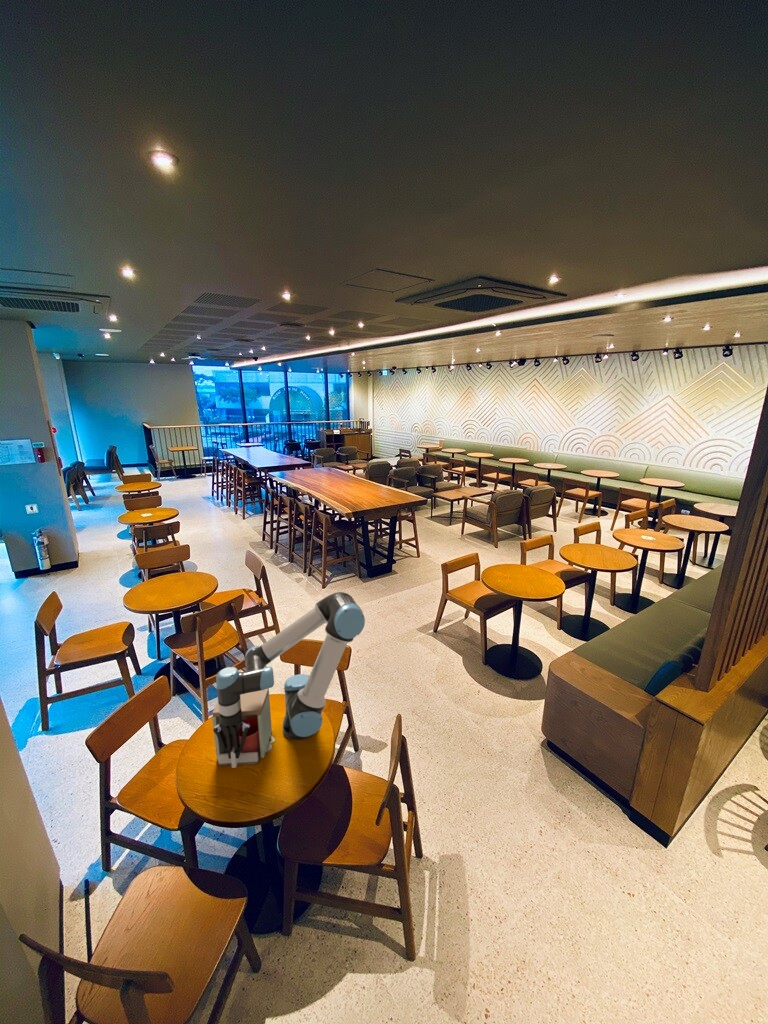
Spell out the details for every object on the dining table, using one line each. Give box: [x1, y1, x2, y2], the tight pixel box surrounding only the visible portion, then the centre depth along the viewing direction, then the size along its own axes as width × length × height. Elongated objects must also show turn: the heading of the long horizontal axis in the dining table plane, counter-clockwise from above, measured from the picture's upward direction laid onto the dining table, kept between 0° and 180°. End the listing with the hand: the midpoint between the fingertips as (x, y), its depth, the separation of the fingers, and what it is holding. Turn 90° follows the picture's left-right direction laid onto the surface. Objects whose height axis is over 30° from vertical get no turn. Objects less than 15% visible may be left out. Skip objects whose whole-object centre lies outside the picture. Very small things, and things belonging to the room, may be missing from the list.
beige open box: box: [211, 688, 273, 761], centre depth 158 cm, size 18×14×21 cm
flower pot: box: [239, 717, 260, 753], centre depth 157 cm, size 11×11×10 cm
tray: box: [217, 734, 261, 767], centre depth 157 cm, size 15×14×4 cm
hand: (235, 764), depth 148 cm, fingers closed
